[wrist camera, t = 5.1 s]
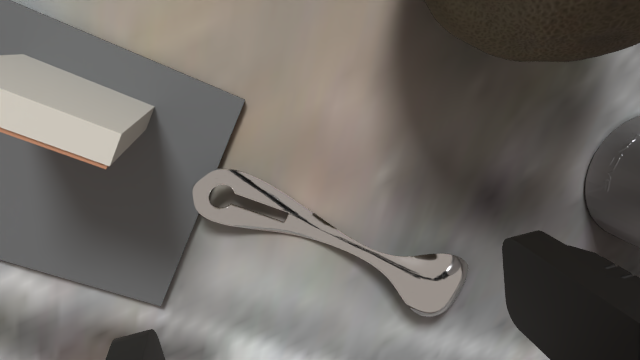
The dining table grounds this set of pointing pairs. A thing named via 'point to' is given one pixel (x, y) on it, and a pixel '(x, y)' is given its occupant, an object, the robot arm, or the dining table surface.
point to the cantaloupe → (541, 27)
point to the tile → (67, 111)
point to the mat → (109, 168)
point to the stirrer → (335, 240)
